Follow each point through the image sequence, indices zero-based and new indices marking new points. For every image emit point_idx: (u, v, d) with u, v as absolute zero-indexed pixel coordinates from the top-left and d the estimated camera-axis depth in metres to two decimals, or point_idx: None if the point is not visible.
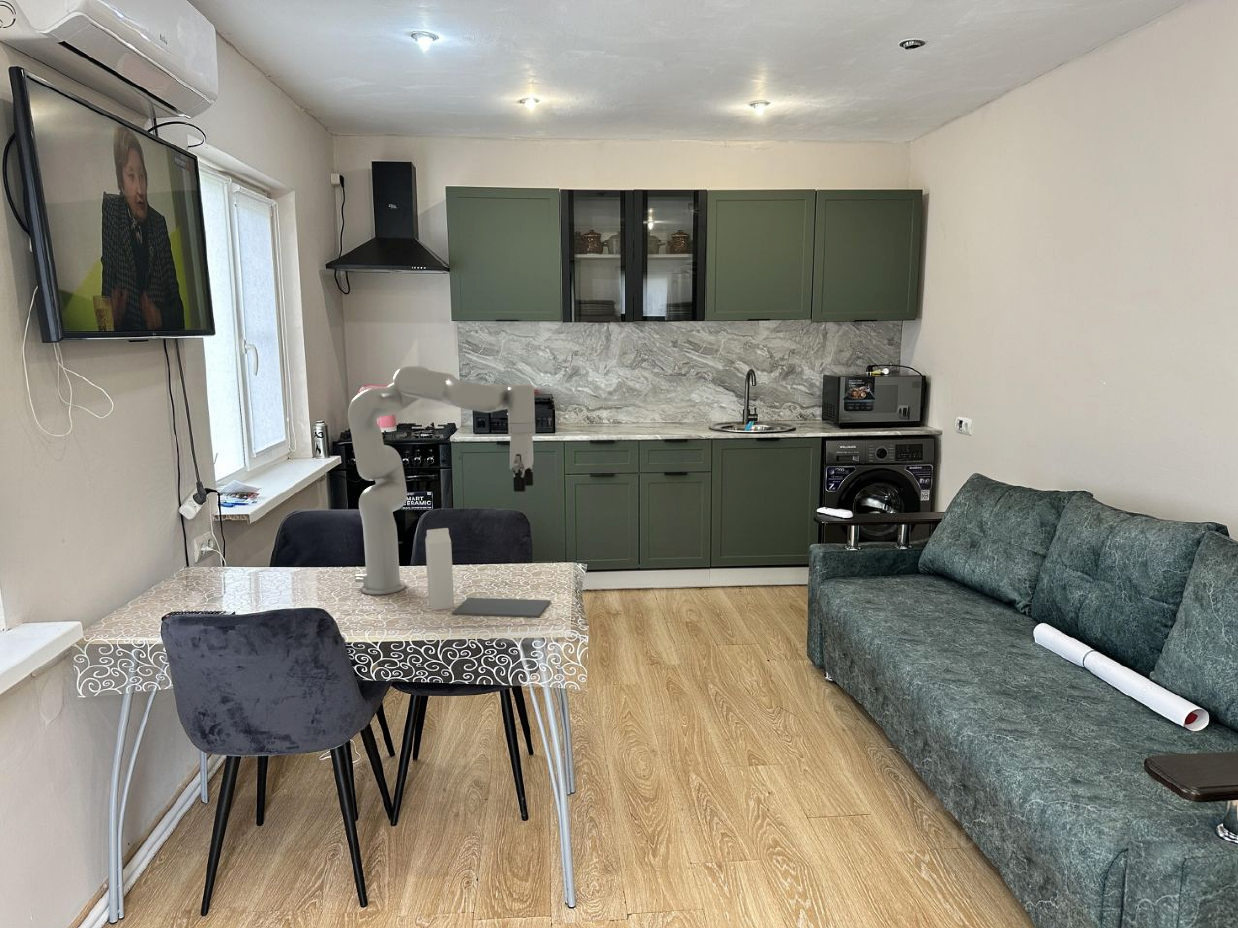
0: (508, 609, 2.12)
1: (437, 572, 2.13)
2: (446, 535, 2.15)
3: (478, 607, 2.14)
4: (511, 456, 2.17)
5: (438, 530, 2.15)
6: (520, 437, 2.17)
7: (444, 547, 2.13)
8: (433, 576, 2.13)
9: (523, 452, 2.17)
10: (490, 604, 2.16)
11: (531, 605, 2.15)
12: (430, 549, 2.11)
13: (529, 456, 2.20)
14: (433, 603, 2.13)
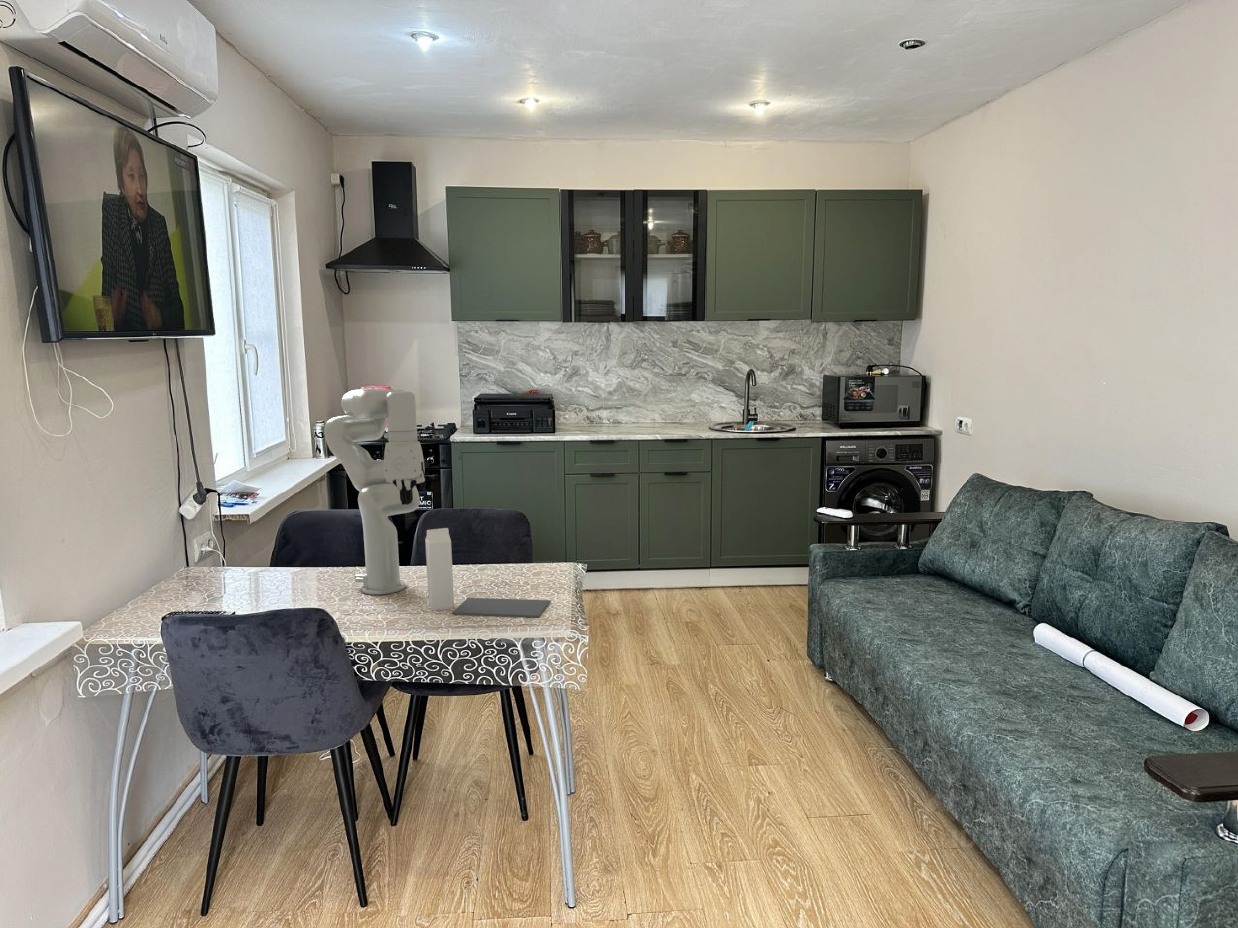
0: (508, 609, 2.12)
1: (437, 572, 2.13)
2: (446, 535, 2.15)
3: (478, 607, 2.14)
4: (418, 464, 2.10)
5: (438, 530, 2.15)
6: (419, 444, 2.12)
7: (444, 547, 2.13)
8: (433, 576, 2.13)
9: None
10: (490, 604, 2.16)
11: (531, 605, 2.15)
12: (430, 549, 2.11)
13: None
14: (433, 603, 2.13)
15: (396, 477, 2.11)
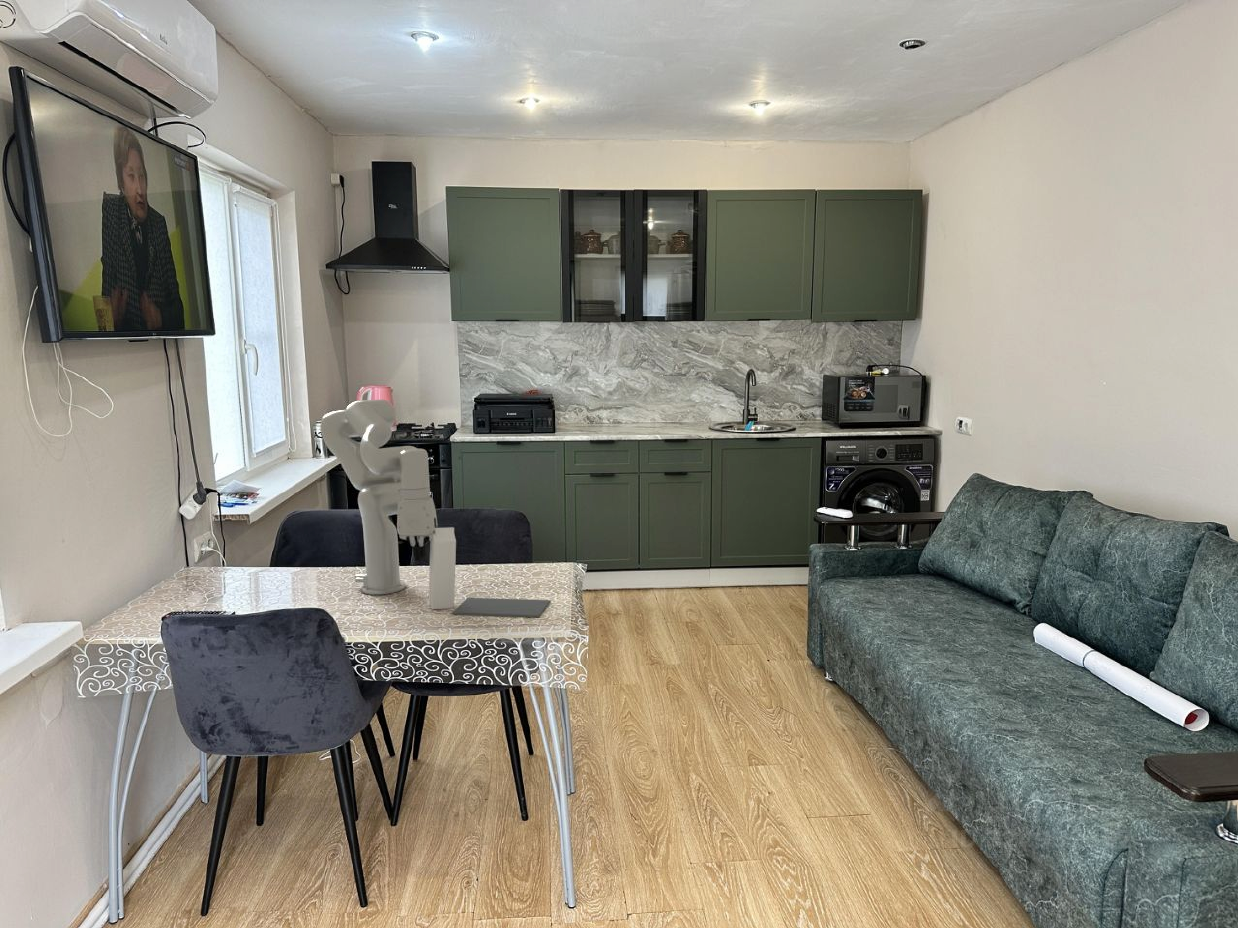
0: (508, 609, 2.12)
1: (439, 570, 2.13)
2: (451, 534, 2.15)
3: (478, 607, 2.14)
4: (431, 521, 2.12)
5: (444, 529, 2.15)
6: (432, 500, 2.14)
7: (449, 546, 2.13)
8: (436, 575, 2.13)
9: None
10: (490, 604, 2.16)
11: (531, 605, 2.15)
12: (435, 547, 2.12)
13: None
14: (434, 601, 2.13)
15: (409, 534, 2.13)
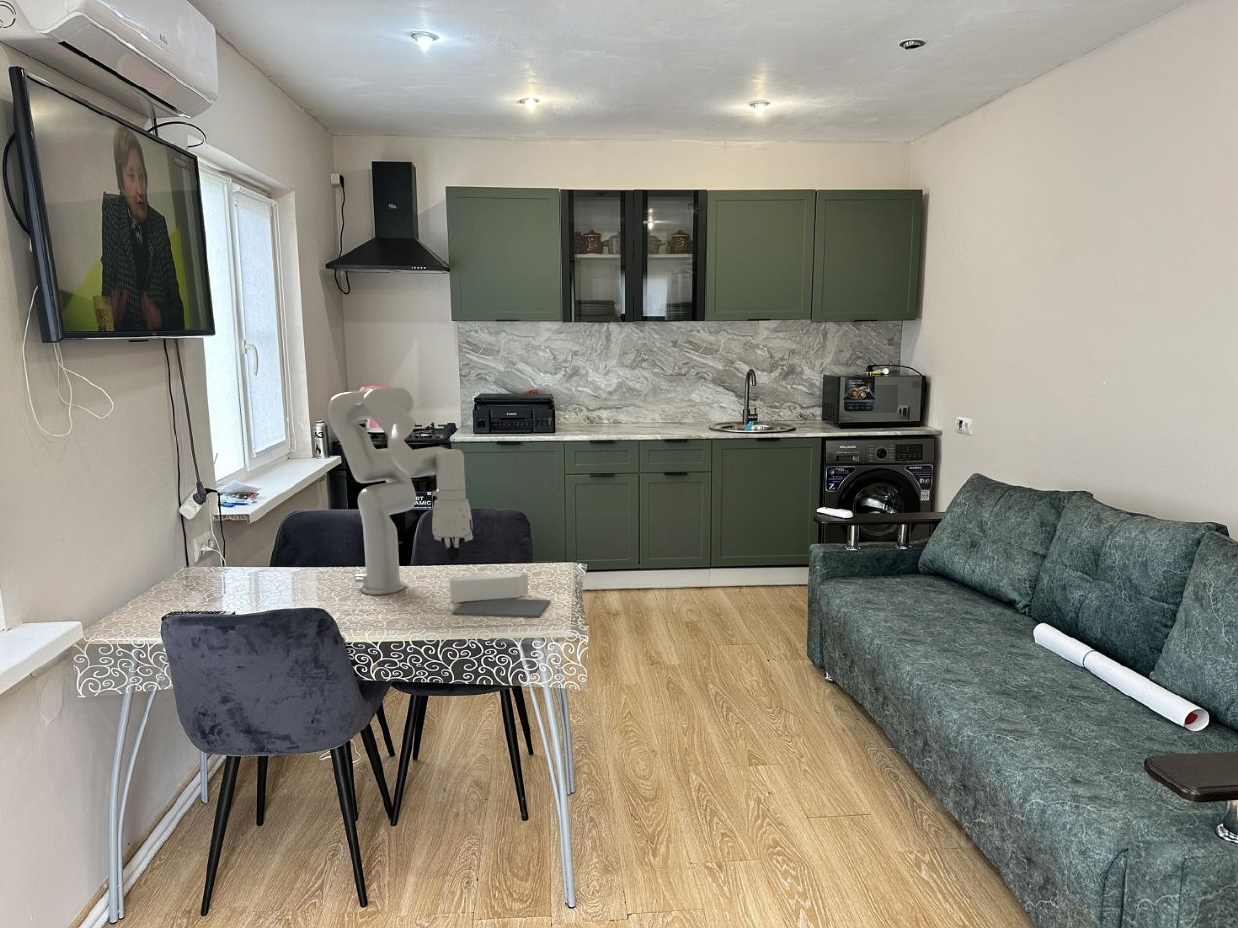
0: (508, 609, 2.12)
1: (490, 584, 2.20)
2: (521, 592, 2.25)
3: (478, 607, 2.14)
4: (467, 523, 2.11)
5: (525, 585, 2.26)
6: (468, 502, 2.13)
7: (513, 591, 2.22)
8: (485, 581, 2.20)
9: (471, 516, 2.14)
10: (490, 604, 2.16)
11: (531, 605, 2.15)
12: (512, 578, 2.22)
13: None
14: (458, 582, 2.17)
15: (445, 535, 2.11)
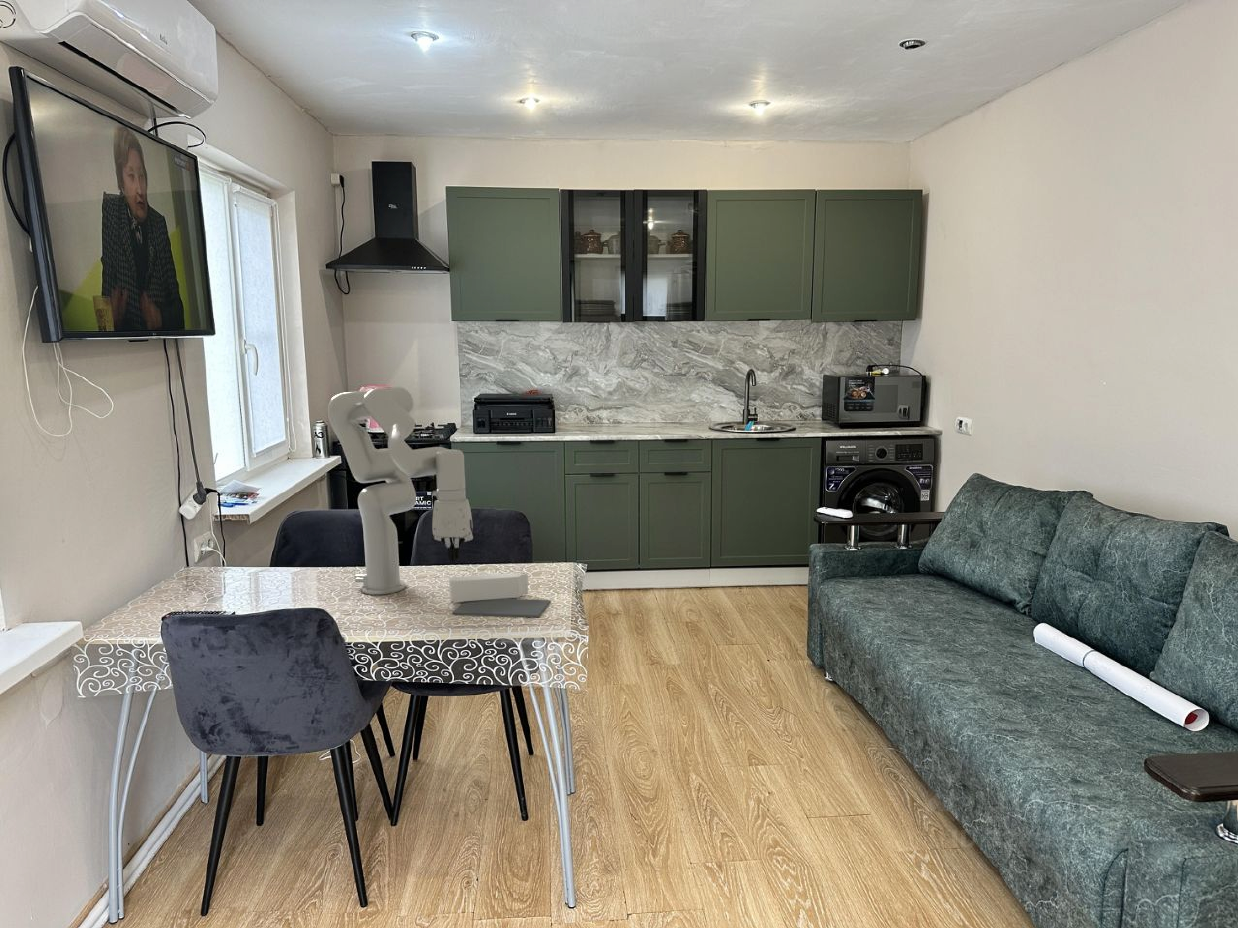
0: (508, 609, 2.12)
1: (490, 584, 2.20)
2: (521, 592, 2.25)
3: (478, 607, 2.14)
4: (467, 523, 2.11)
5: (525, 585, 2.26)
6: (468, 502, 2.13)
7: (513, 591, 2.22)
8: (485, 581, 2.20)
9: (471, 516, 2.14)
10: (490, 604, 2.16)
11: (531, 605, 2.15)
12: (512, 578, 2.22)
13: None
14: (458, 582, 2.17)
15: (445, 535, 2.11)
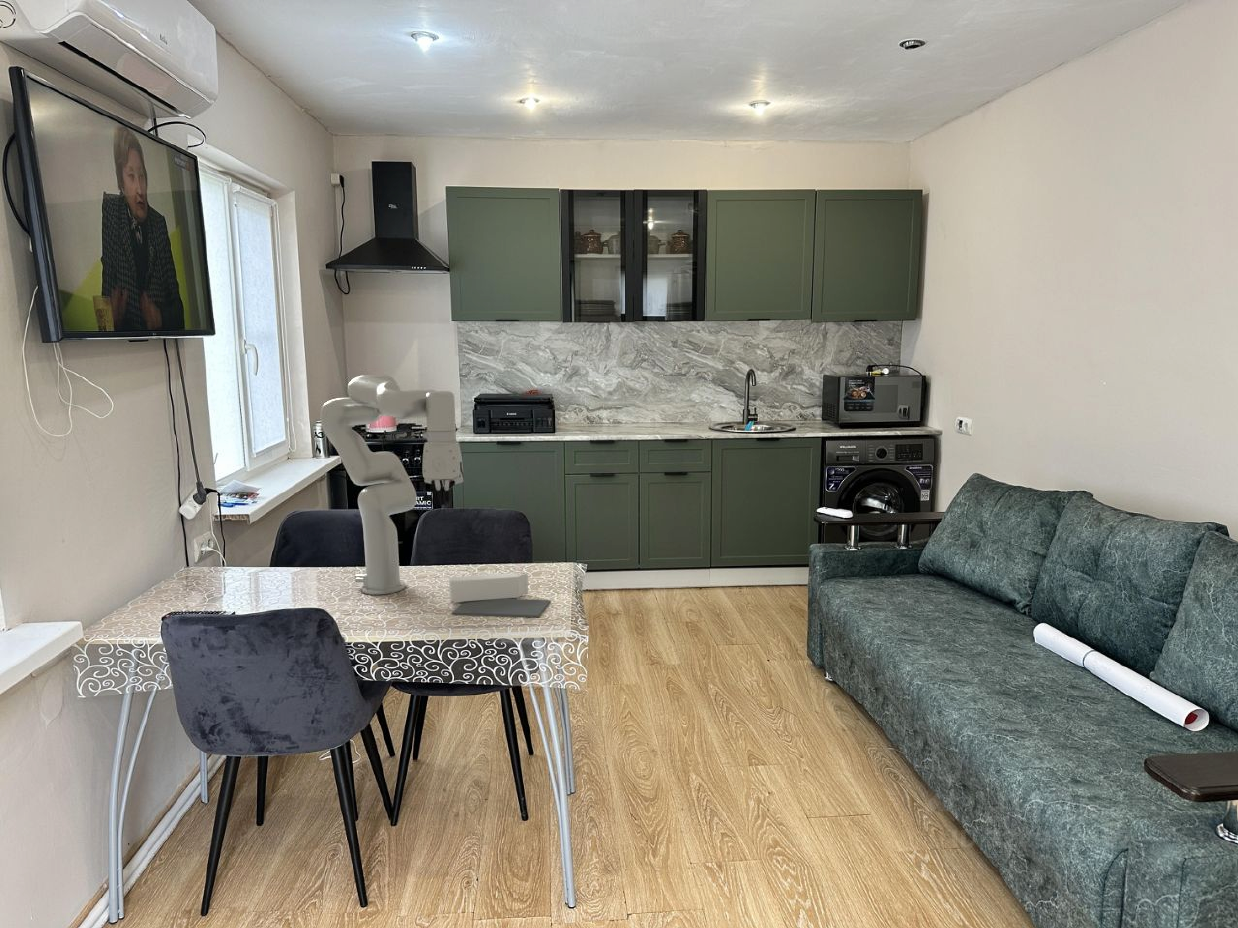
0: (508, 609, 2.12)
1: (490, 584, 2.20)
2: (521, 592, 2.25)
3: (478, 607, 2.14)
4: (458, 465, 2.09)
5: (525, 585, 2.26)
6: (458, 444, 2.11)
7: (513, 591, 2.22)
8: (485, 581, 2.20)
9: (461, 459, 2.12)
10: (490, 604, 2.16)
11: (531, 605, 2.15)
12: (512, 578, 2.22)
13: None
14: (458, 582, 2.17)
15: (435, 477, 2.10)
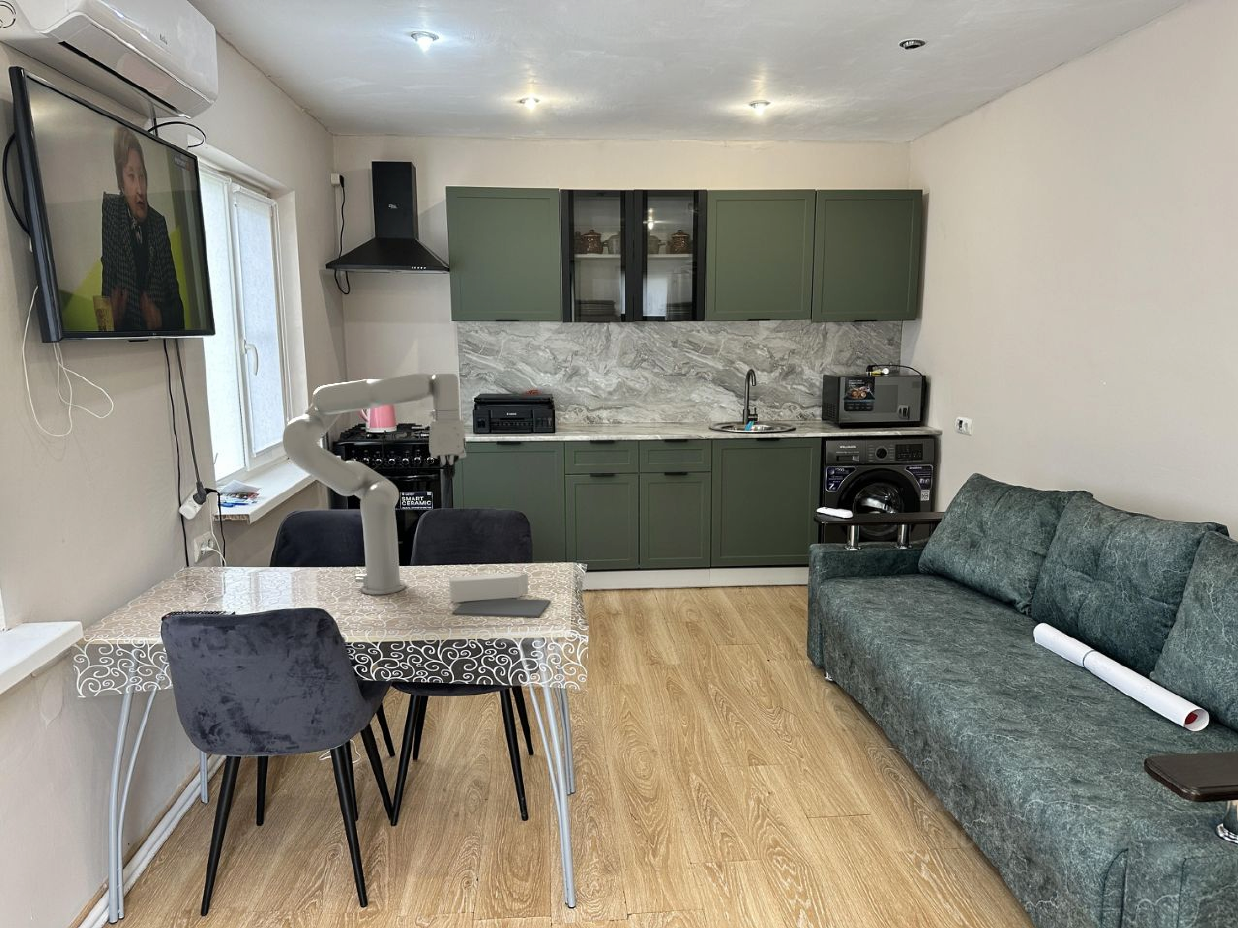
0: (508, 609, 2.12)
1: (490, 584, 2.20)
2: (521, 592, 2.25)
3: (478, 607, 2.14)
4: (461, 441, 2.29)
5: (525, 585, 2.26)
6: (462, 422, 2.31)
7: (513, 591, 2.22)
8: (485, 581, 2.20)
9: None
10: (490, 604, 2.16)
11: (531, 605, 2.15)
12: (512, 578, 2.22)
13: None
14: (458, 582, 2.17)
15: (440, 452, 2.29)
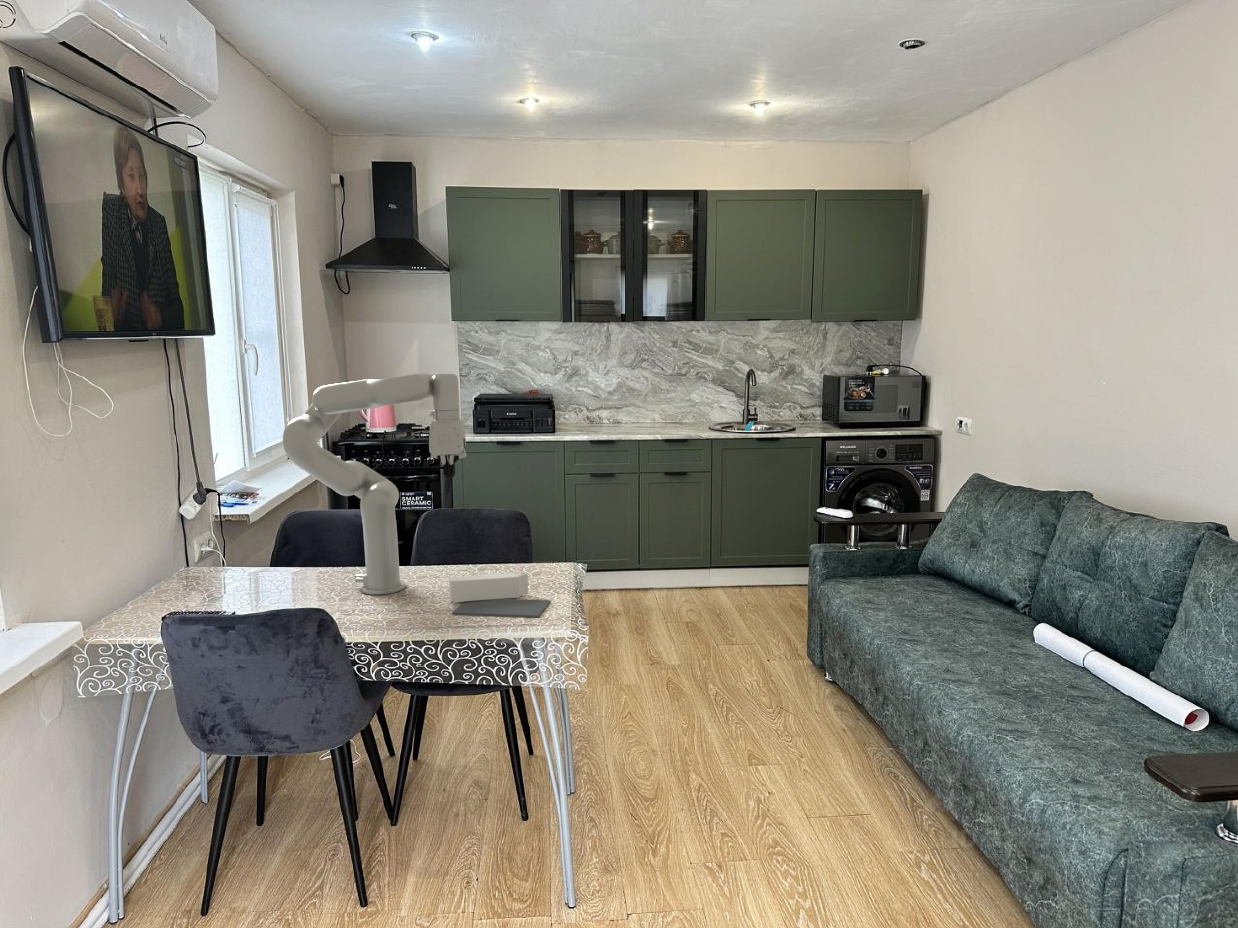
0: (508, 609, 2.12)
1: (490, 584, 2.20)
2: (521, 592, 2.25)
3: (478, 607, 2.14)
4: (461, 441, 2.29)
5: (525, 585, 2.26)
6: (462, 422, 2.31)
7: (513, 591, 2.22)
8: (485, 581, 2.20)
9: None
10: (490, 604, 2.16)
11: (531, 605, 2.15)
12: (512, 578, 2.22)
13: None
14: (458, 582, 2.17)
15: (440, 452, 2.29)
